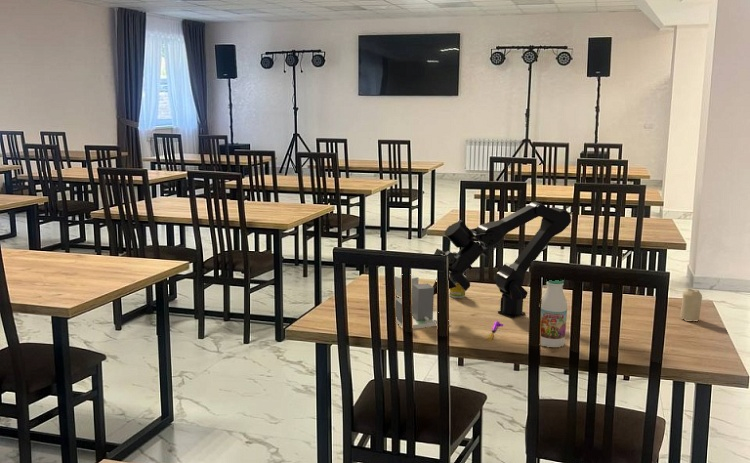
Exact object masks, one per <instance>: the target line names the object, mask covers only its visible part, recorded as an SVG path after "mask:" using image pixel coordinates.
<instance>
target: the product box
mask: <svg viewBox="0 0 750 463" xmlns="http://www.w3.org/2000/svg"><path fill="white" fill-rule="evenodd" d="M401 275H402V274H400V275H399V274H398V275H394V280H395V289H396V296H397V295H398V296H400V297H401ZM410 275H411V276H412V291H413V284H419V276H415V275H413V274H410Z"/></svg>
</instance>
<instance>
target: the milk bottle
mask: <svg viewBox="0 0 750 463" xmlns="http://www.w3.org/2000/svg"><path fill="white" fill-rule="evenodd" d="M564 282H565V279H564V280H562V281H559V280H555V281H552V280H549V281H547V280H546V284H547V285H546V289H545V291H544V293H543V294H542V296H541V299H542V304H541V345H540V346H542V347H544V346H547V347H546V348H549V347H559V348H561V347H560V346H562V347H563V346H564V345H565V342H566V341H565V340H566V332H567V330H566V329H567V318H568V316H567V315H568V303H567V299H566V295H565V293H564V288H563V286H564Z"/></svg>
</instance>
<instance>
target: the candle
mask: <svg viewBox="0 0 750 463" xmlns="http://www.w3.org/2000/svg"><path fill="white" fill-rule="evenodd" d="M702 298H703V294H702V293H701V292H700V290H699V289H691V288H687V289H685V291H684V292H682V300H681V309H680V317H681V318H682V319H686V320H692V321H694V320H699V321H700V317H701V316H700V315H701V308H702V307H701V306H702V300H703V299H702ZM680 317H679V318H680ZM681 318H680V319H681Z"/></svg>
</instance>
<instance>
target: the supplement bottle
mask: <svg viewBox="0 0 750 463" xmlns="http://www.w3.org/2000/svg"><path fill="white" fill-rule="evenodd" d="M464 274H465V272H464V273H463V275H464ZM464 276H465V278H466V279H467V276H466V275H464ZM456 286H457V287H456V288H455V287H454V288H451V289H449V297H451V298H453V299H462V298H465V297H466V291H465V290H463V289H462V288H461V286H460V285H459V284H458V283H457V284H456Z"/></svg>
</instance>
